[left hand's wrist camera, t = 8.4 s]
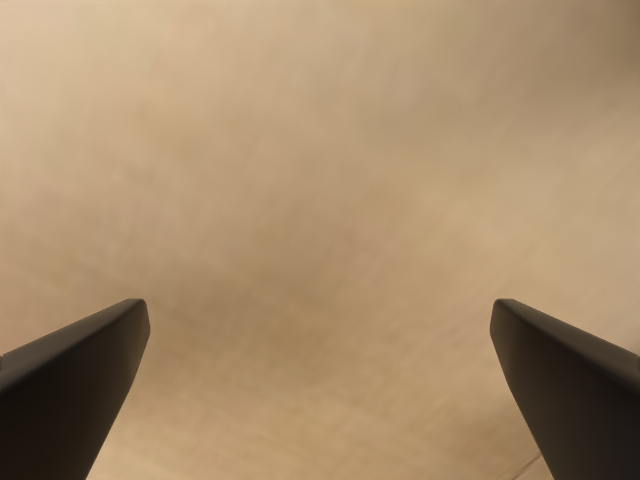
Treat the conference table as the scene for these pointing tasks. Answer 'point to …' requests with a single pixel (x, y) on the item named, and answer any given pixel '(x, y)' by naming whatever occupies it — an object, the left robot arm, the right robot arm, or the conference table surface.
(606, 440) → the left robot arm
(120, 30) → the conference table surface
